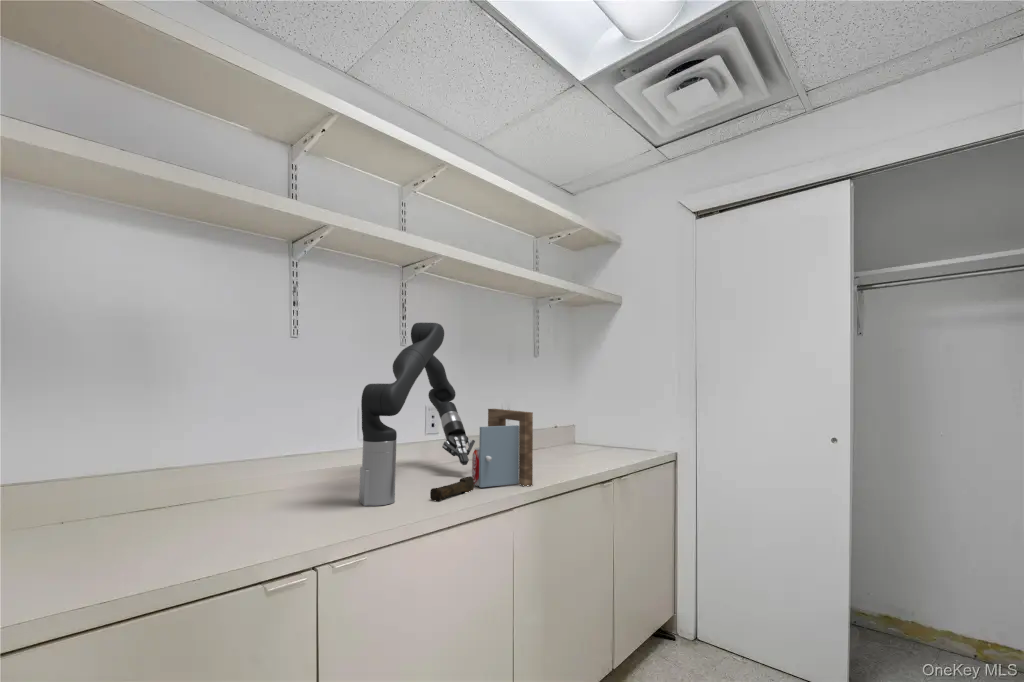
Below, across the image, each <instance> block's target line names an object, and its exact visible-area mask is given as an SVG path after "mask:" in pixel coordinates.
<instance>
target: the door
mask: <svg viewBox="0 0 1024 682" xmlns="http://www.w3.org/2000/svg"><path fill="white" fill-rule="evenodd" d="M478 445H479V447H478V448H479V487H478V488H488V487H489V488H490V487H497V486H506V485H507V486H508V485H509V486H510V485H516V484H517V485H519V424H518V425H517V424H516V425H515V424H514V425H506V426H489V427H488V426H479V444H478Z"/></svg>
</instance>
